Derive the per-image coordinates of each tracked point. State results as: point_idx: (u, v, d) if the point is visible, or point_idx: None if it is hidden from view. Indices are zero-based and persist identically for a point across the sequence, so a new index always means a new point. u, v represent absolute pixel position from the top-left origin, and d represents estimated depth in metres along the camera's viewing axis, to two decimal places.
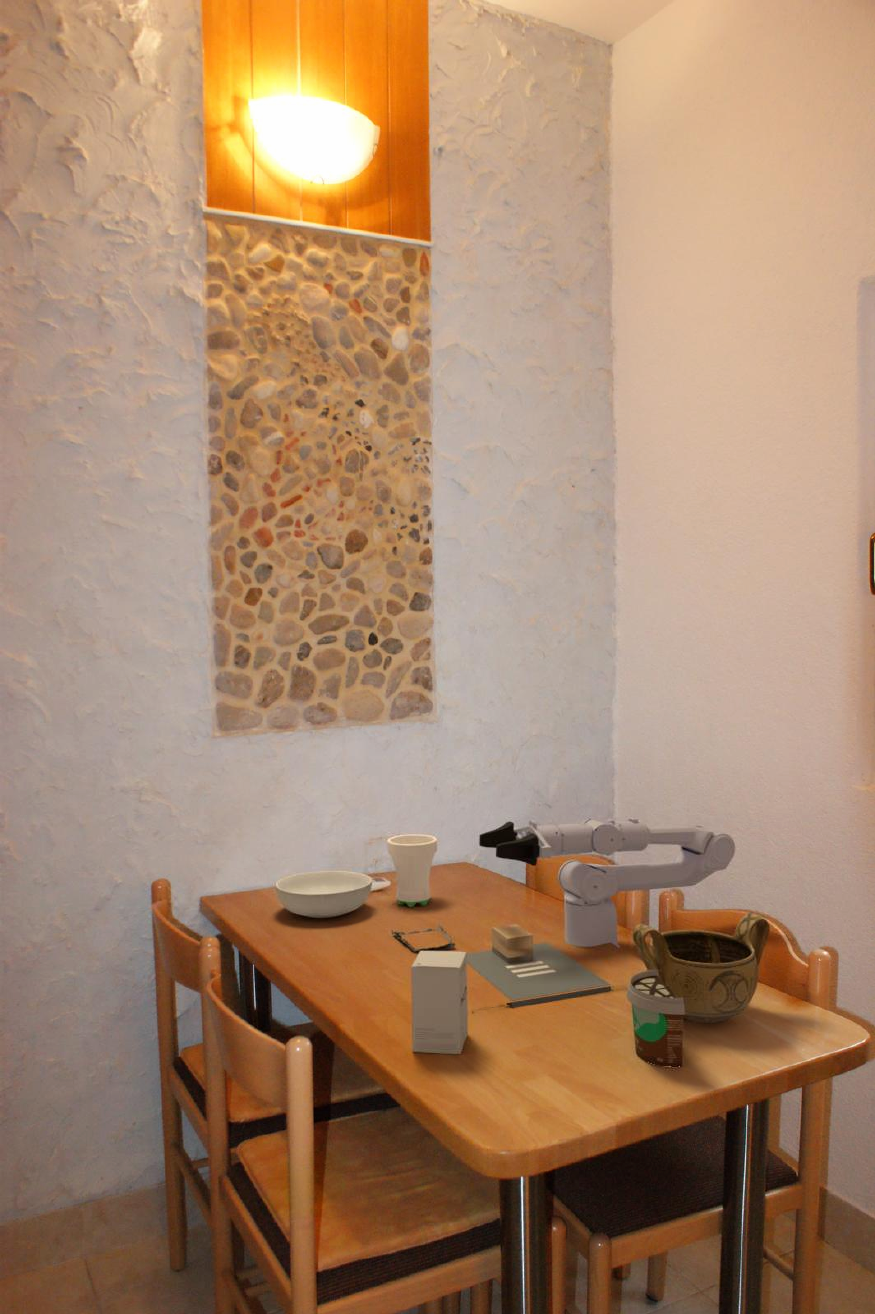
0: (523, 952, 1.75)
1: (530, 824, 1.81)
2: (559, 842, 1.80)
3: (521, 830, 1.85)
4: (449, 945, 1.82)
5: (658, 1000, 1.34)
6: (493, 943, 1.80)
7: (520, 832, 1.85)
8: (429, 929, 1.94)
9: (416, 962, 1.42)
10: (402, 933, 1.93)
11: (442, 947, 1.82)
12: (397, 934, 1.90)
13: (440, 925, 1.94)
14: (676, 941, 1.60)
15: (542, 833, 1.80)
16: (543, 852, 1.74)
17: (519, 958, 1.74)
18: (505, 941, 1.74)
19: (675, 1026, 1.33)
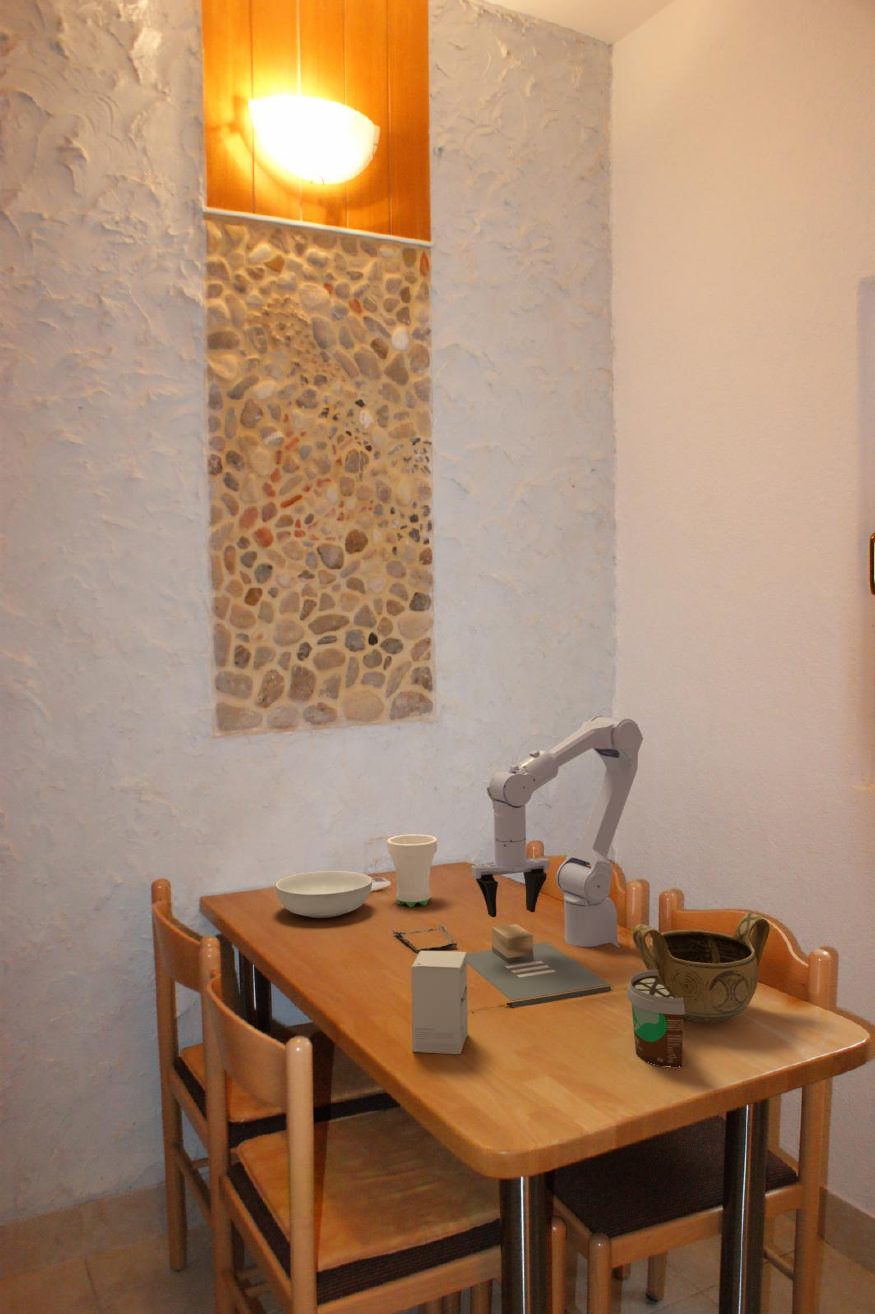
0: (523, 952, 1.75)
1: None
2: None
3: None
4: (451, 945, 1.82)
5: (658, 1000, 1.34)
6: (493, 943, 1.80)
7: None
8: (430, 929, 1.94)
9: (416, 962, 1.42)
10: (403, 933, 1.93)
11: (444, 947, 1.82)
12: (398, 934, 1.90)
13: (441, 925, 1.94)
14: (677, 941, 1.60)
15: (525, 860, 1.76)
16: None
17: (519, 958, 1.74)
18: (505, 941, 1.74)
19: (675, 1026, 1.33)
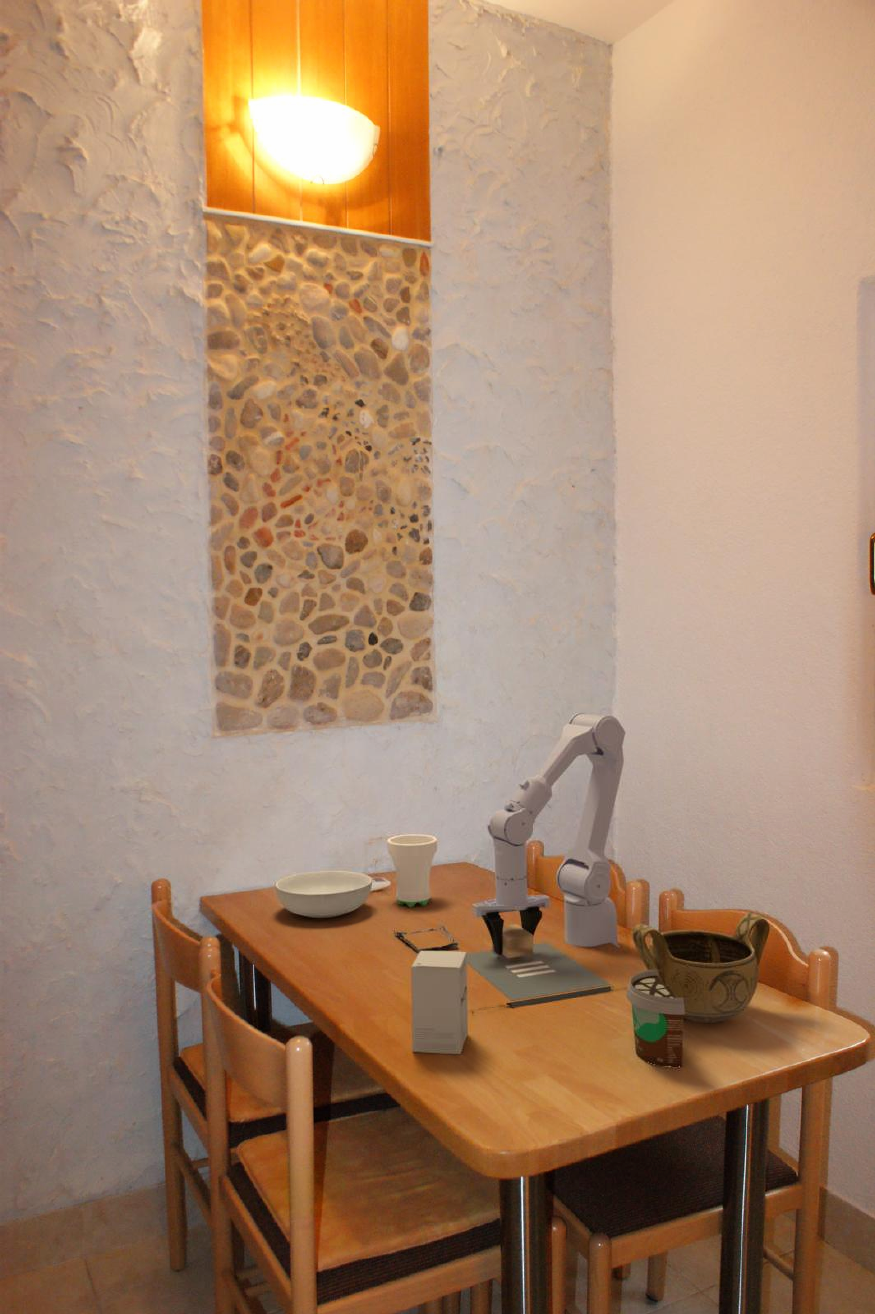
0: (523, 952, 1.75)
1: None
2: None
3: None
4: (452, 945, 1.82)
5: (658, 1000, 1.34)
6: None
7: None
8: (431, 929, 1.94)
9: (416, 962, 1.42)
10: (404, 933, 1.93)
11: (445, 947, 1.82)
12: (399, 934, 1.90)
13: (442, 925, 1.94)
14: (676, 941, 1.60)
15: (525, 898, 1.76)
16: None
17: (519, 958, 1.74)
18: (505, 941, 1.74)
19: (675, 1026, 1.33)
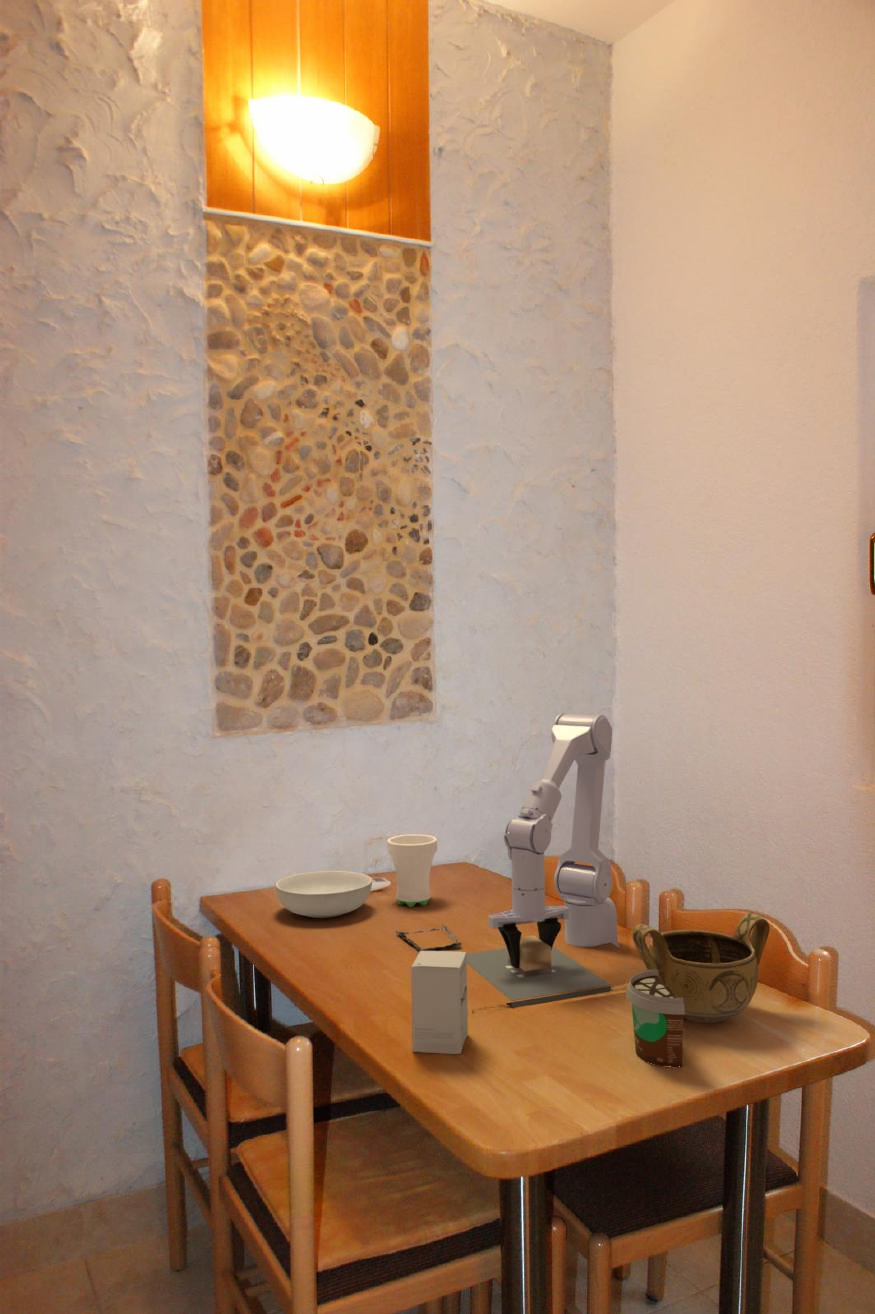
0: (541, 965, 1.68)
1: None
2: None
3: None
4: (455, 944, 1.82)
5: (658, 1000, 1.34)
6: None
7: None
8: (433, 929, 1.95)
9: (416, 962, 1.42)
10: (406, 933, 1.93)
11: (448, 946, 1.82)
12: (402, 934, 1.90)
13: (444, 925, 1.94)
14: (676, 941, 1.60)
15: (544, 909, 1.69)
16: None
17: (537, 971, 1.68)
18: (522, 953, 1.67)
19: (675, 1026, 1.33)
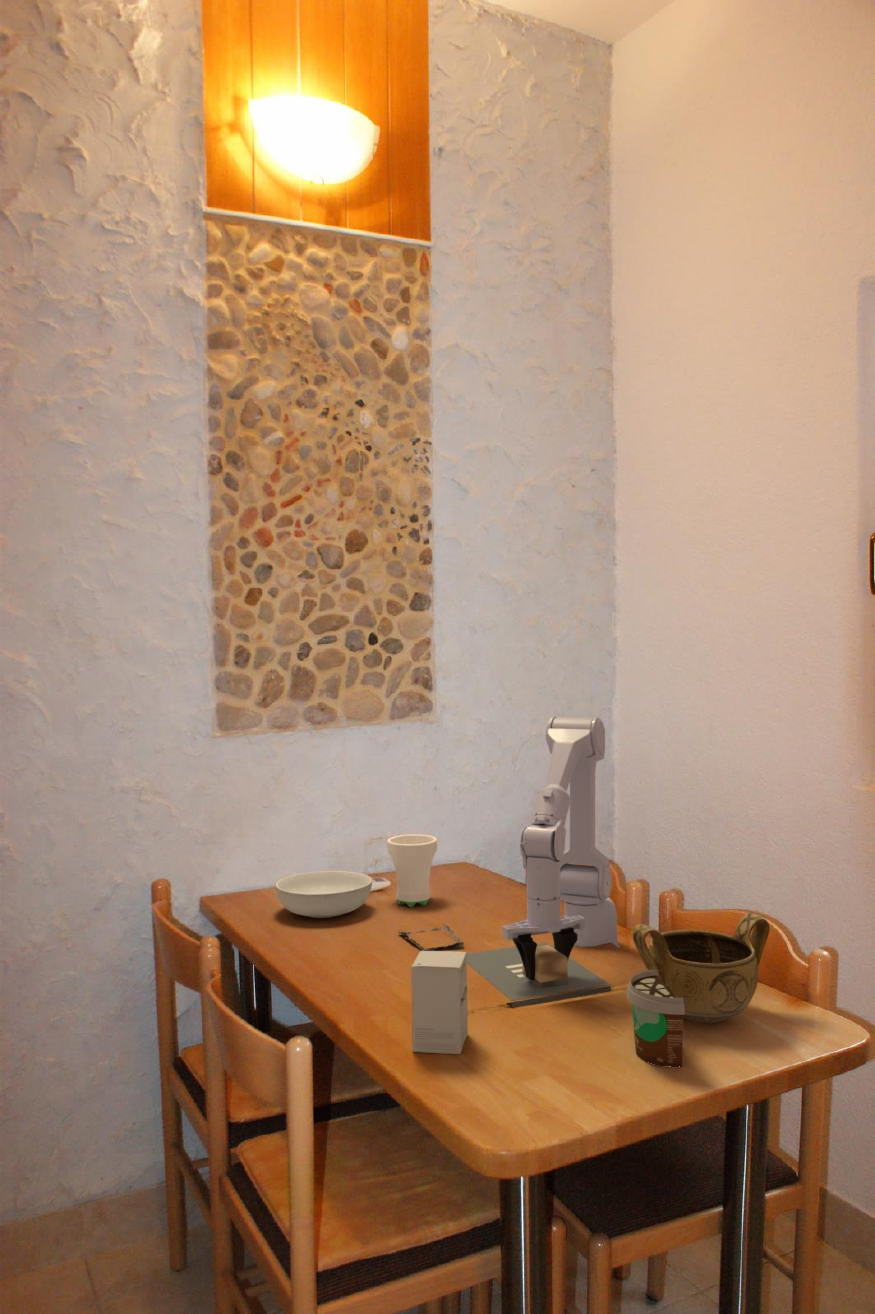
0: (557, 976, 1.62)
1: None
2: None
3: None
4: (458, 944, 1.83)
5: (658, 1000, 1.34)
6: None
7: None
8: (435, 929, 1.95)
9: (416, 962, 1.42)
10: (408, 933, 1.93)
11: (451, 946, 1.82)
12: (404, 934, 1.90)
13: (446, 924, 1.94)
14: (676, 941, 1.60)
15: (560, 919, 1.64)
16: None
17: (553, 982, 1.62)
18: (538, 964, 1.62)
19: (675, 1026, 1.33)
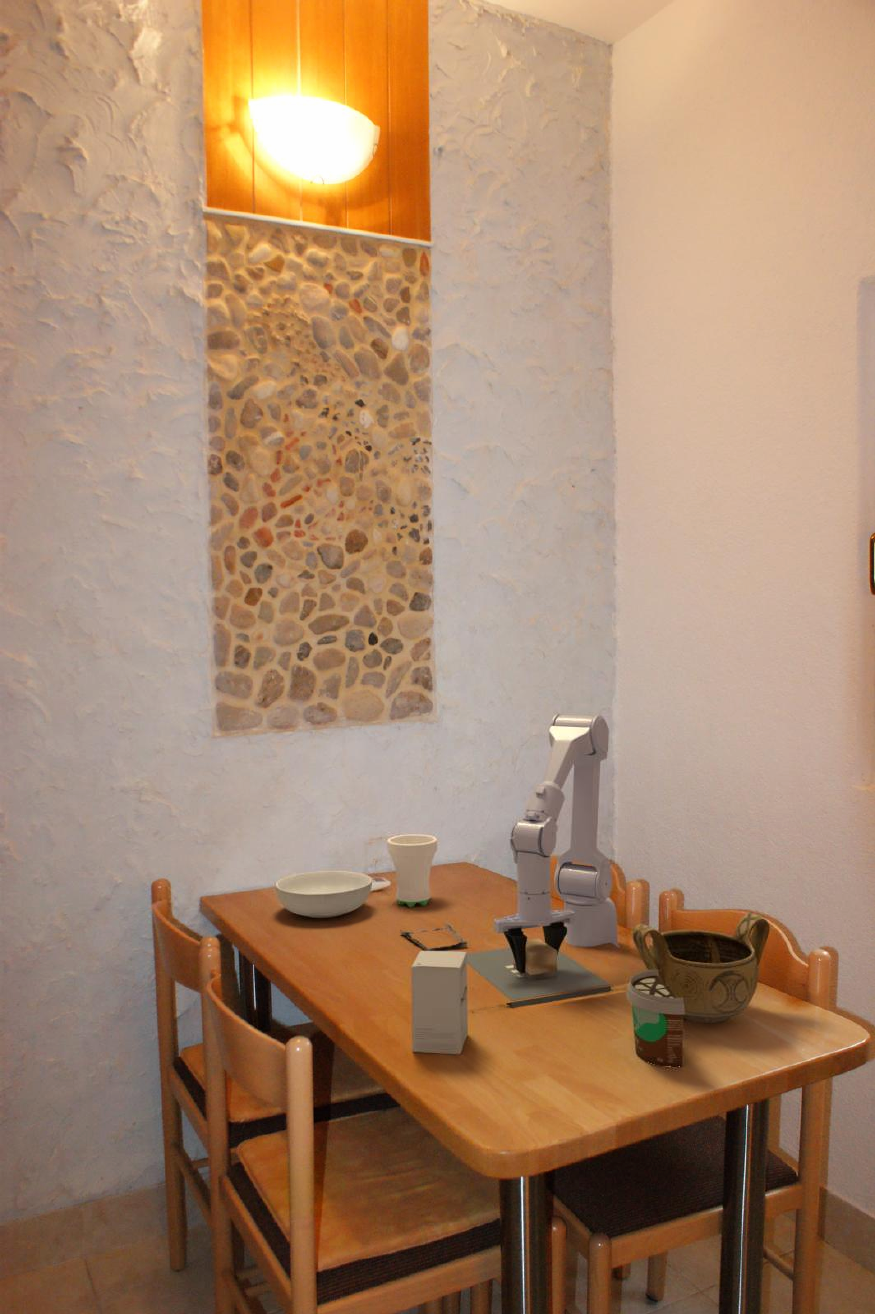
0: (547, 969, 1.66)
1: None
2: None
3: None
4: (461, 944, 1.83)
5: (658, 1000, 1.34)
6: (514, 959, 1.71)
7: None
8: (437, 928, 1.95)
9: (416, 962, 1.42)
10: (411, 933, 1.93)
11: (454, 946, 1.83)
12: (407, 934, 1.90)
13: (448, 924, 1.94)
14: (676, 941, 1.60)
15: (550, 913, 1.67)
16: None
17: (542, 975, 1.65)
18: (528, 957, 1.65)
19: (675, 1026, 1.33)
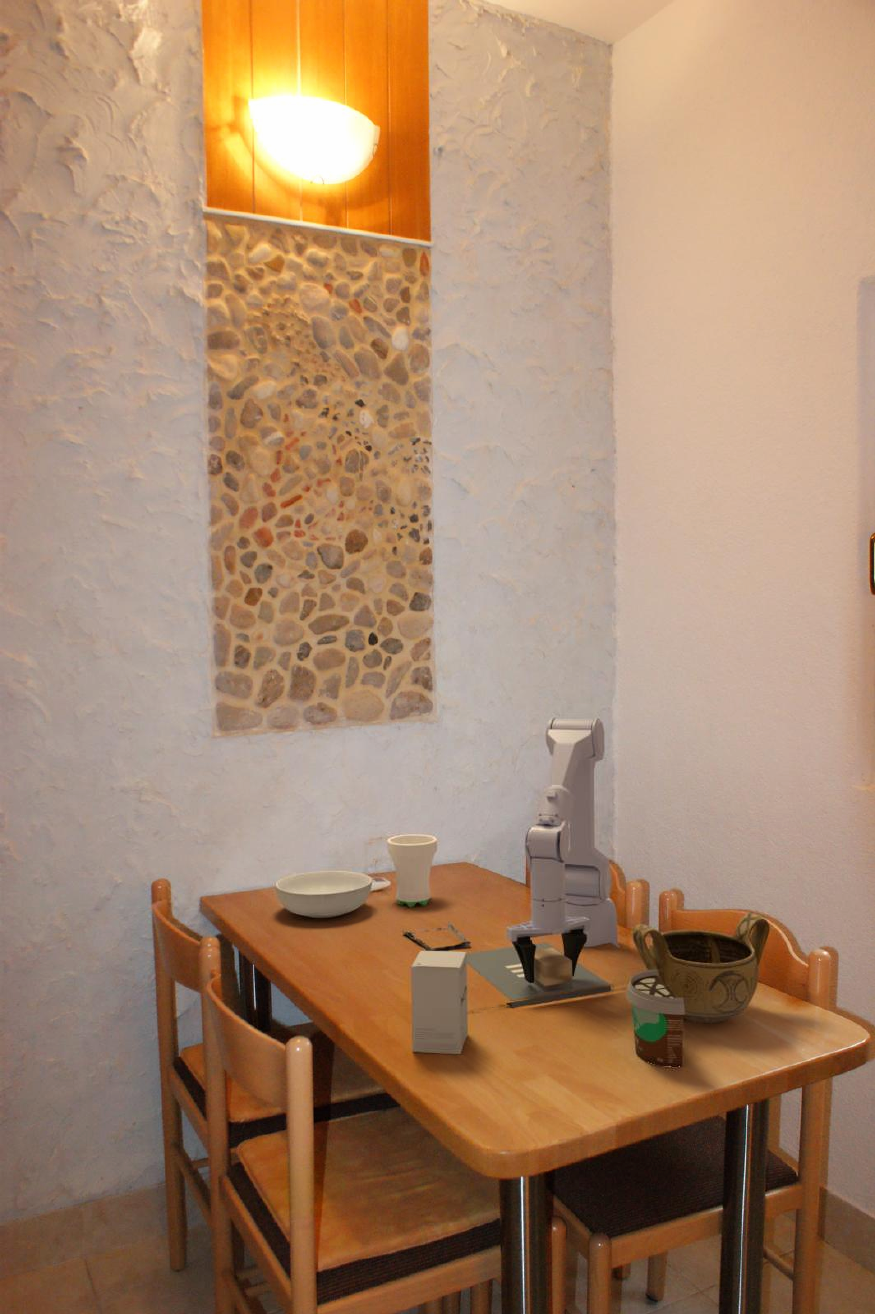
0: (561, 979, 1.61)
1: None
2: None
3: None
4: (465, 943, 1.83)
5: (658, 1000, 1.34)
6: None
7: None
8: (439, 928, 1.95)
9: (416, 962, 1.42)
10: None
11: (458, 945, 1.83)
12: (409, 934, 1.90)
13: (450, 924, 1.94)
14: (676, 941, 1.60)
15: (564, 920, 1.62)
16: None
17: (557, 986, 1.61)
18: (542, 967, 1.60)
19: (675, 1026, 1.33)
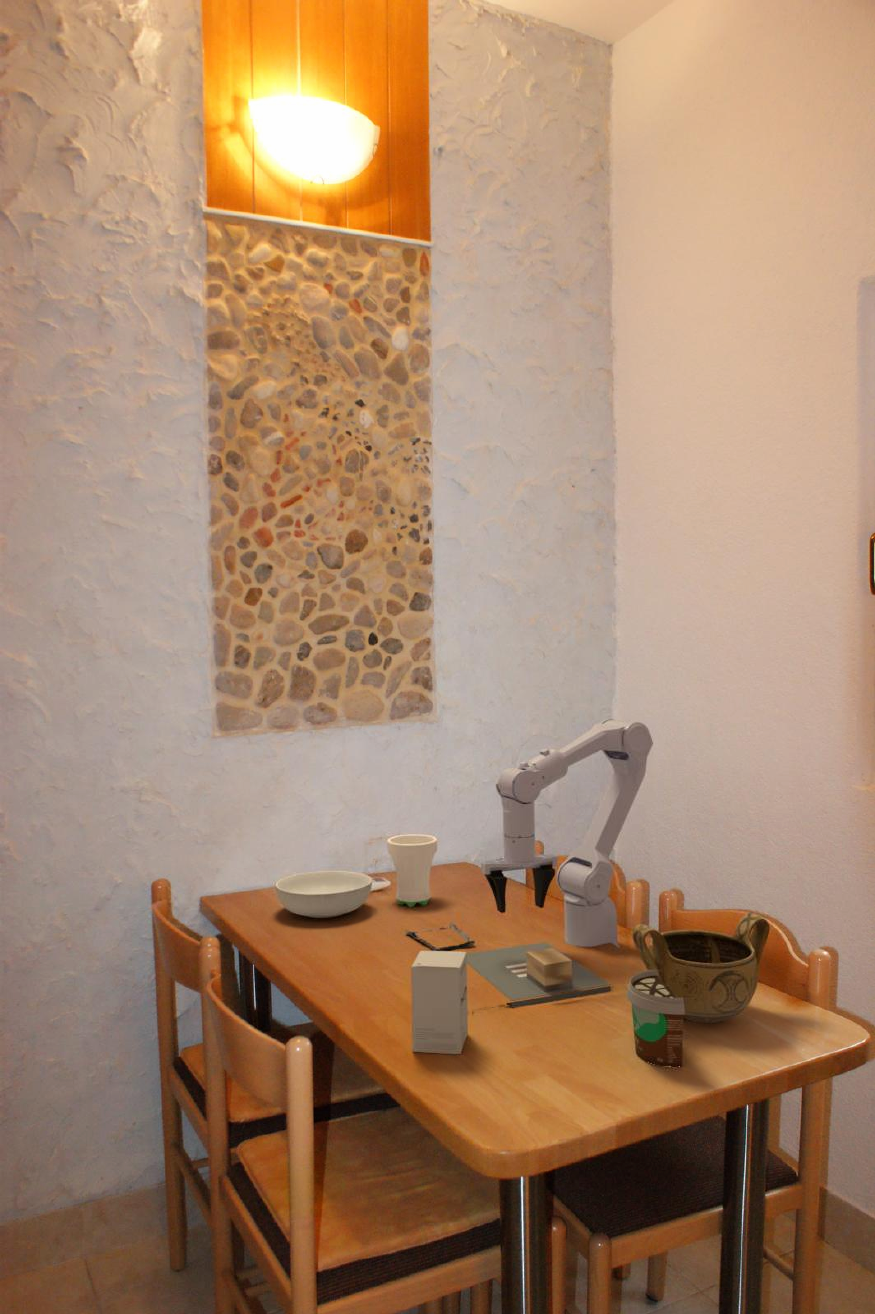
0: (561, 979, 1.61)
1: None
2: None
3: None
4: (469, 943, 1.83)
5: (658, 1000, 1.34)
6: (528, 969, 1.66)
7: None
8: (442, 928, 1.95)
9: (416, 962, 1.42)
10: None
11: (462, 945, 1.83)
12: (412, 934, 1.90)
13: (453, 923, 1.95)
14: (676, 941, 1.60)
15: (534, 856, 1.77)
16: None
17: (557, 986, 1.61)
18: (542, 967, 1.60)
19: (675, 1026, 1.33)
